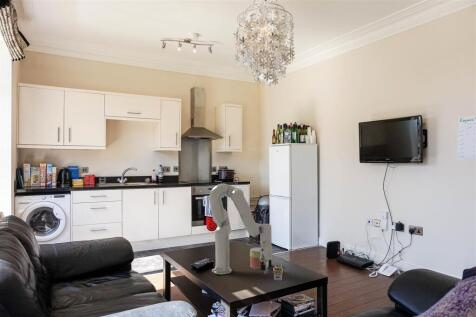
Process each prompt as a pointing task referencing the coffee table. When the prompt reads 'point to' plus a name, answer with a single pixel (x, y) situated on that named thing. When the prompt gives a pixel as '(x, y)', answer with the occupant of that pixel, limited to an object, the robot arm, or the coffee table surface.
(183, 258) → the coffee table surface
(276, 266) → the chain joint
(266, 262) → the pin
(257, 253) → the canned food
